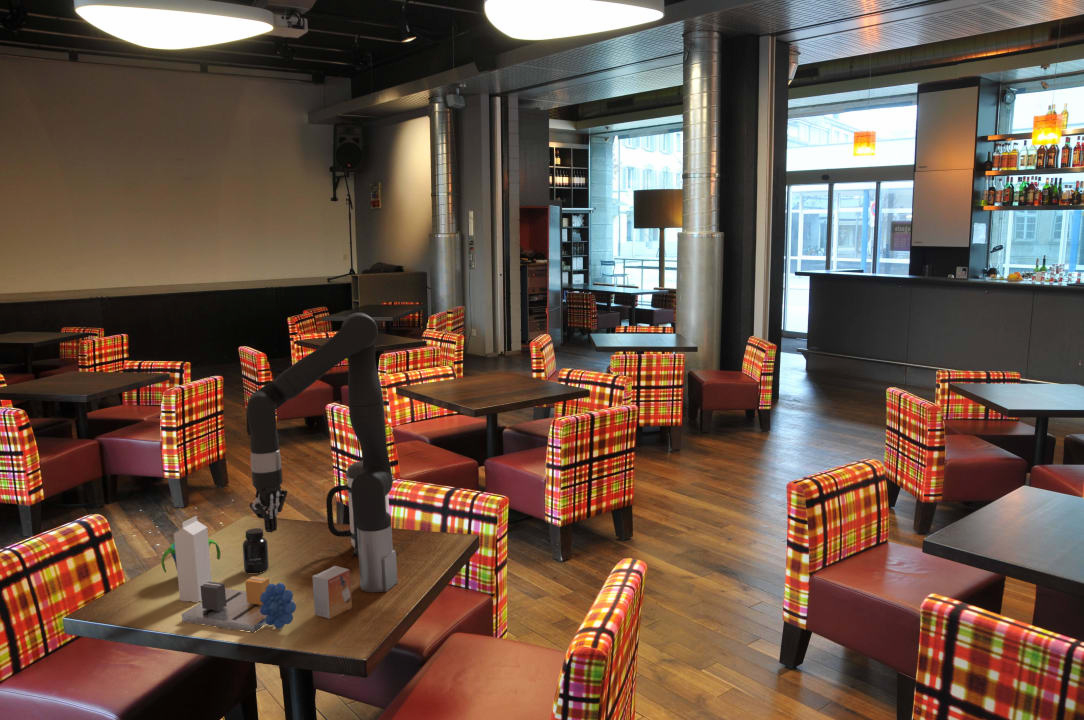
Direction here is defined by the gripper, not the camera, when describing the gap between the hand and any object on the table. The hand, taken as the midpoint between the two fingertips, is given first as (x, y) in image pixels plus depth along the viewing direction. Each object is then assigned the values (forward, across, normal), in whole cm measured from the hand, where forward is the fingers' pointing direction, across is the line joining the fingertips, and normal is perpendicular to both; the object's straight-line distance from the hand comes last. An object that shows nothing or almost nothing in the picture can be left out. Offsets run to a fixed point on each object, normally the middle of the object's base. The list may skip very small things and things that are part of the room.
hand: (271, 530), depth 218 cm
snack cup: (+19, +6, +33) cm, 39 cm away
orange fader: (+17, -7, 0) cm, 18 cm away
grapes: (+19, -13, -11) cm, 26 cm away
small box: (+19, -2, -19) cm, 27 cm away
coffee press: (+19, +38, -5) cm, 43 cm away
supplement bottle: (+19, +15, +18) cm, 30 cm away
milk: (+19, -5, +22) cm, 30 cm away
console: (+19, -10, +4) cm, 22 cm away
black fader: (+17, -13, +9) cm, 23 cm away
